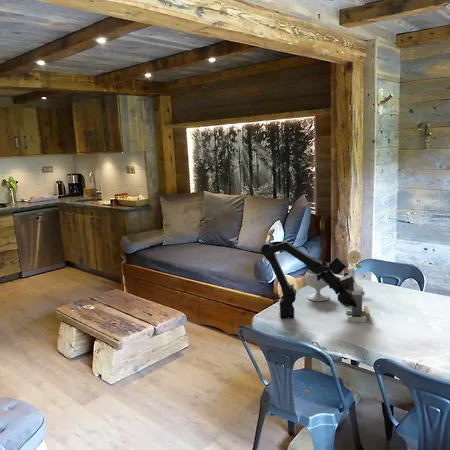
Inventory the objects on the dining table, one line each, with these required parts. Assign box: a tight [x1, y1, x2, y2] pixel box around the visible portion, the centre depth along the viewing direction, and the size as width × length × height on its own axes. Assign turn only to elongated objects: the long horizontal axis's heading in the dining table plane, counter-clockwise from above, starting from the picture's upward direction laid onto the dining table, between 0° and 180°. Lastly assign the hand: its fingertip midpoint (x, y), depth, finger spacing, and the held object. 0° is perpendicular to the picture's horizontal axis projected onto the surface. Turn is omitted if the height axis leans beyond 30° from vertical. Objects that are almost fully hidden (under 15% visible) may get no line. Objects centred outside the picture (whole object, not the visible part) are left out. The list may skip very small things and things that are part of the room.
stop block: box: [351, 291, 363, 317], centre depth 208 cm, size 4×4×12 cm
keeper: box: [345, 305, 371, 323], centre depth 209 cm, size 10×10×4 cm
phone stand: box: [341, 283, 354, 308], centre depth 227 cm, size 9×6×12 cm, turn 7°
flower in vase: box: [346, 249, 364, 293], centre depth 241 cm, size 13×11×25 cm
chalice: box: [304, 269, 330, 302], centre depth 237 cm, size 14×14×15 cm
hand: (355, 302), depth 208 cm, fingers open, 9 cm apart
